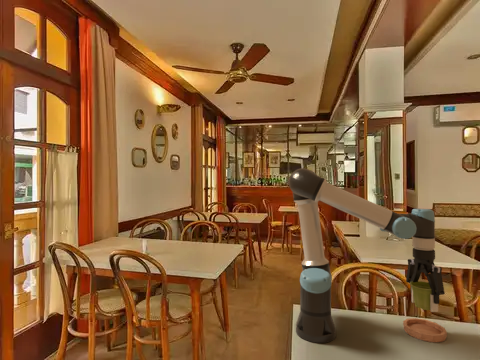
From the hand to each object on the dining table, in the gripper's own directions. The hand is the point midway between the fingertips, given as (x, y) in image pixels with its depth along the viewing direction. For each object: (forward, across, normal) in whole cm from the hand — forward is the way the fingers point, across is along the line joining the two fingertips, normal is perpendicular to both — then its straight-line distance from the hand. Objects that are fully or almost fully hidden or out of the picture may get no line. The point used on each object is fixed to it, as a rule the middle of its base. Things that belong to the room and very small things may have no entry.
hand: (424, 306), depth 115 cm
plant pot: (0, 0, 0) cm, 1 cm away
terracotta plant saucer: (+10, 0, 0) cm, 10 cm away
